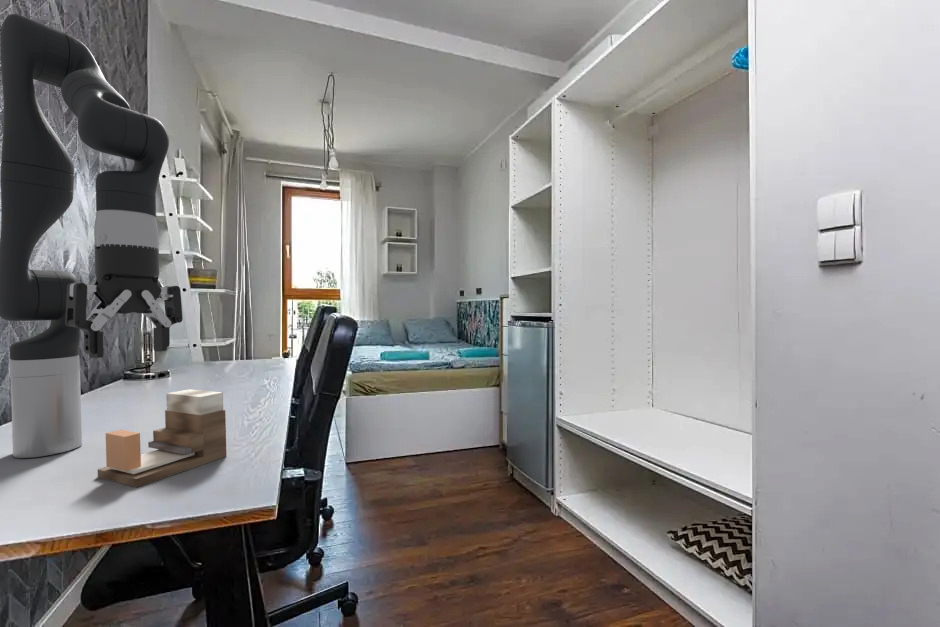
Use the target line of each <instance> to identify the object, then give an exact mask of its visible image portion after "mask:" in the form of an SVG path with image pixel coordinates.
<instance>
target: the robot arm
mask: <svg viewBox="0 0 940 627" xmlns="http://www.w3.org/2000/svg"><path fill="white" fill-rule="evenodd" d="M0 65H1V66H0V67H1V81H2V82H1V83H2V84H1V85H2V96H3V98H2V99H3V126H2V143H1V145H2V146H1V159H0V162H1V163H0V200H1V201H0V204H1V205H0V206H1V210H0V211H1V215H0V219H1V222H0V318H1V319H2V320H4V321H7V322H8V321H9V322H26V321H27V322H29V321H34V322H35V321H50V325H49V326H48V327H47V329H45V330H44V331H42V332H41V333H38V334H37V335H34V336H32V337H28V338H26V339H22V340H19V341H16V342H14V343H12V344H11V345H9V346H10V347H9V352H8V353H9V371H10V372H9V373H10V376H9V377H10V398H11V400H10V401H11V404H10V405H11V429H12V431H11V432H12V434H11V435H12V436H11V438H12V439H11V440H12V457H14V458H18V459H26V458H27V459H28V458H39V457H40V458H41V457H46V456H51V455H57V454H62V453H65V452H69V451H72V450H74V449H77V448H79V447H81V446H82V445H83V436H82V435H83V432H82V431H83V430H82V425H83V424H82V399H81V398H82V395H81V391H82V390H81V366H80V344H81V331H82V332H83V344H84V346H83V349H84V352H85V354H86V355H88V356H89V358H90V359H99V358H100V359H101V358H103V357H104V331H101V329H102V328H103V326H104V325H105V324H106V323H107V322H108V321H109V320H110V319H112V318H113V317H114V316H115V315H116V314H117V315H118V314H119V315H120V314H122V315H124V314H126V315H127V314H142V315H143V316H144V317H146V318H148V319H149V321H150V322H151V323H152V324H153V325H154V326H155V327H152V331H153V332H152V333H153V334H152V335H153V350H154V352H159V353H161V352H166V351H167V349H168V348H169V347H170V344H171V342H170V341H171V337H170V336H171V334H170V333H171V332H170V328H171V327H172V326H173V325H175V324H177V323H179V324H180V323H182V322H183V319H184V318H183V308H182V294H181V287H180V286H178V285H166V286H160V284H159V276H160V246H159V245H160V240H159V239H160V237H159V235H160V234H159V227H158V222H157V195H156V193H157V187H158V184H159V180H160V175H161V171H162V168H163V164H164V162H165V160H166V157H167V154H168V151H169V146H170V137H169V133H168V131H167V129H166V127H165V126H164V124H163V123H162V122H161V121H160V120H159V119H157V118H156V117H154V116H151V115H148V114H145V113H141V112H139V111H136V110H132V109H131V106H130V105H129V103H128V102H127V101H126V99H125V98H124V96H122V95H121V94H120V92H118V91H117V90H116V89H115V88H114V87H113V86H112V85H111V84H110V83H109V82H108V81H107V80H106V78H105V76H104V74H103V72H102V70H101V68H100V66H99V65H98V63H97V61H96V59H95V57H94V55H93V54H92V52H91V50H90V49H89V48H88V47H87V46H86V45H85V43H83V41H81V40H79V39H78V38H76V37H74V36H73V35H70V34H68V33H65V32H62V31H60V30H59V29H55V28H53V27H50V26H49V25H46V24H44V23H41V22H39V21H37V20H35V19H34V20H33V19H32V18H28V17H27V16H23V15H21V14H17V13H12V14H11V13H10V14H9V15H7V16H6V17H5V18H4V20H3V22H2V26H1V30H0ZM34 80H35V81H39V82H40V83H44V84H47V85H50V86H54V87H57V88H59V89H60V94H61V96H62V99H63V101H64V103H65V104H66V106H67V108H69V110H70V111H71V112H72V113H73V115H75V116H76V118H77V130H78V136H79V137H80V140H81V141H82V142H83V143H84V145H86V146H88V147H89V148H90V149H93V150H95V151H96V152H100V153H102V154H103V153H104V154H106V155H111V156H116V157H118V158H119V157H120V158H123V159H127V160H132V161H134V162H133V163H134V164H133V168H132V170H105V171H101V172H99V173H98V174H97V175H96V178H95V208H96V209H95V210H96V211H95V220H94V227H93V228H94V230H93V232H94V234H93V235H94V236H93V237H94V273H95V277H96V278H95V279H96V280H95V282H94V284H86V283H85V282H80V280H79V279H78V277H77V276H76V275H75V274H74V273H72V272H70V271H63V270H47V269H42V270H41V269H29V264H30V260H31V256H32V254H33V251H34V249H35V247H36V245H37V243H39V240H40V239H41V238H42V237H43V235H45V233H46V232H47V231H48V230H49V229H50V228H52V226H53V225H54V224H56V222H57V221H58V220H59V219H60V218H61V217H62V216H63V215H64V214H65V213H66V212H67V211H68V209H69V208H70V206H71V205H72V203H73V200H74V185H75V182H74V181H75V164H74V161H73V160H72V157H71V156H70V153H69V151H68V150H67V148H66V147H65V145H64V144H63V142H62V141H61V139H60V138H59V137H58V135H57V133H56V132H55V130H54V129H53V128H52V126H51V124H50V122H48V120H47V118H46V116H45V115H44V113H43V111H42V109H41V108H42V107H41V106H40V104H39V101H38V98H37V95H36V91H35V83H34ZM92 294H94V296H95V297H96V298H97V299H98V300H99V302H98V303H97V304H96V305H95V306H94V308H92V309H91V311H90V314H89V315H88V317H87V301H88V300H89V299H90V298H91V296H92ZM159 297H161V299H163V301H164V302H163V303H164V309H163V308H162V306H161V305H160V304H159V303H158V302H157V300H158V298H159Z"/></svg>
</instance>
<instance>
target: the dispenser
mask: <svg viewBox="0 0 940 627" xmlns="http://www.w3.org/2000/svg"><path fill="white" fill-rule="evenodd" d="M165 394H166V396H165V397H166V410H164V416H165V417H164V419H165V422H164V423H165V427H162V428H159V429H154V430H152V435H153V436H152V437H153V440H151V441H148V445H147V446H148V449H149V448H150V449H155V450H164V451H169V452H174V453H179V454H184V455H188V454H191V453H194V452H195V455H193V456H190V457H186V458H183V459H180V460H177V461H174V462H171V463H168V464H164V465H161V466H158V467H155V468H152V469H149V470H146V471H142V472H139V473H136V474H131V473H127V472H123V471H119V470H115V469H111V468H107V466H105V467H102V468H101V467H100V468H98V469H97V478H100V479H103V480H107V481H110V482H115V483H117V484H118V483H119V484H123V485H125V486H130V487H133V488H139V487H142V486H144V485H147V484H150V483H153V482H156V481H160V480H161V479H165V478H167V477H171V476H174V475H176V474H179V473H182V472H184V471H188V470H191V469H193V468H197V467H199V466H203V465H205V464H208V463H211V462H214V461H217V460H221V459H223V458H225V457H227V456H228V455H227V427H226V426H227V425H226V424H227V421H226V420H227V419H226V410H225V409H224V393H223V392H219V391H212V390H210V391H209V390H200V389H191V388H189V389H183V390H177V391H171V392H166V393H165Z"/></svg>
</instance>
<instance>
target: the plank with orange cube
mask: <svg viewBox="0 0 940 627" xmlns="http://www.w3.org/2000/svg"><path fill="white" fill-rule="evenodd" d="M141 452H142V451H141V433H140V432H135V431H130V430H125V429H124V430H123V429H119V430H118V429H117V430H114V431H110V432H106V433H105V456H106V457H105V458H106V459H105V461H106V467H107V468H111V469H115V470H119V471H123V472H127V473H131V474H136V473H139V472H142V471H146V470H149V469H152V468H155V467H158V466H161V465H164V464H168V463H171V462H174V461H177V460H180V459H183V458H186V457H190V456H193V455H195V452H194V453H191V454H188V455H184V454H179V453H174V452H169V451H164V450H159V449H155V450H151V451H148V452H145V453H142V454H141Z"/></svg>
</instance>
